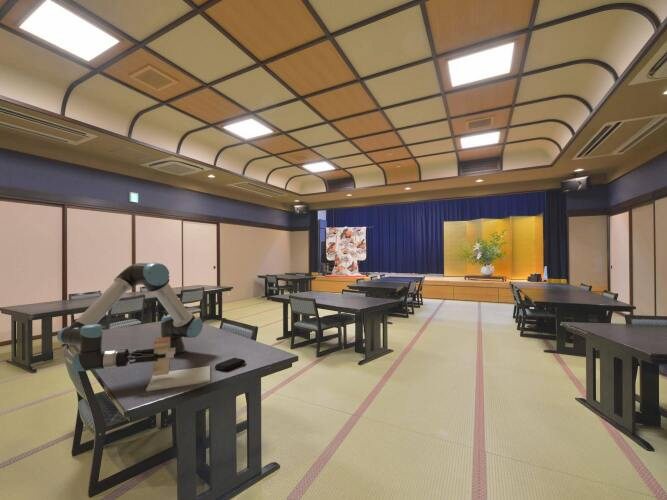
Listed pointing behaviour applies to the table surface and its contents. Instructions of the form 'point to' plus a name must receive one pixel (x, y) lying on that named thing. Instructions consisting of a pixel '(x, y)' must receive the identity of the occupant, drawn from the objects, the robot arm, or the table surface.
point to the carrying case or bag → (229, 364)
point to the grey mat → (180, 378)
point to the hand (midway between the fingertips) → (174, 352)
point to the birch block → (162, 364)
